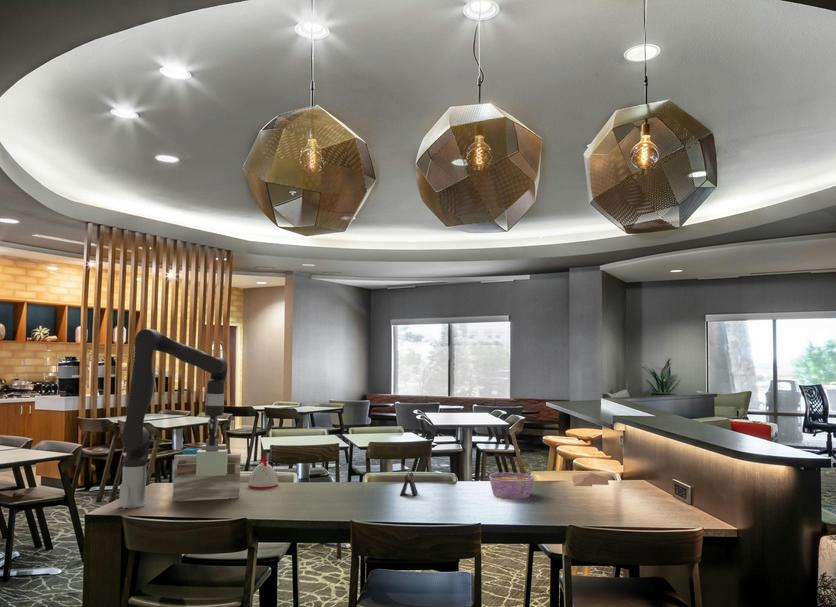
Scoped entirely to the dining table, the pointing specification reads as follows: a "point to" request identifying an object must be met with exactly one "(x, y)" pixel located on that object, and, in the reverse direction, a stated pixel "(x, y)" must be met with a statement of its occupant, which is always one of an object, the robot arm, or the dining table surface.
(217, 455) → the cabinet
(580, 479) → the house
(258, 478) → the kitchen timer
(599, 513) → the dining table surface
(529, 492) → the bowl of food
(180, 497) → the grey brown rectangular box
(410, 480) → the dark grey angled piece
